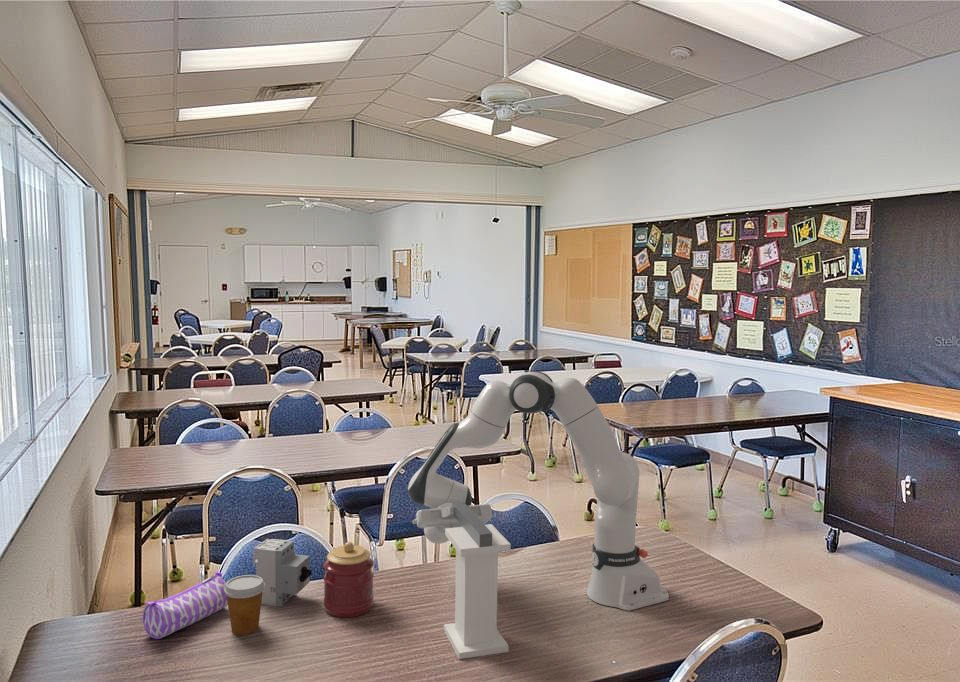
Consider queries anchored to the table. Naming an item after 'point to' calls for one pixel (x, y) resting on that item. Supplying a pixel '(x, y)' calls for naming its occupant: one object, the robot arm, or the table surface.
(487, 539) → the bar
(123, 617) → the table surface
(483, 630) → the stand
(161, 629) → the pencil case
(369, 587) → the canister
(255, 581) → the disposable coffee cup
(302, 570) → the circuit breaker
